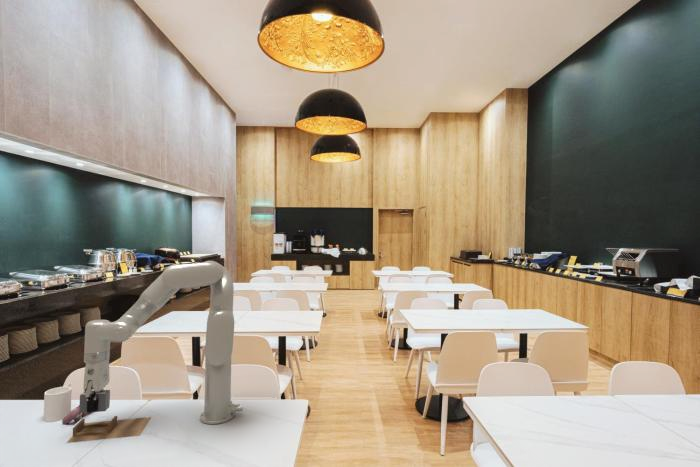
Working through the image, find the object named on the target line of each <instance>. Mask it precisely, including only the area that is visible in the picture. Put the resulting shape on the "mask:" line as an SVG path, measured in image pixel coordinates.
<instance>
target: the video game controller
mask: <svg viewBox="0 0 700 467" xmlns="http://www.w3.org/2000/svg"><path fill="white" fill-rule="evenodd" d="M79 406H80V404H78V405H77V407H75V408H73V409H71V412H70V413H69V414H68V415H67V416H65V417H64V418H63V420H61V421H62V422H61V423H62V424H63V425H68V424H69V423H70V422H71V423H72V421H74V422H79V420H80V419H82V418H83V417H85V416H87V415H88V414H89V413H90V412H87V413H79Z"/></svg>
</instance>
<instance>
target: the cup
mask: <svg viewBox="0 0 700 467" xmlns="http://www.w3.org/2000/svg"><path fill="white" fill-rule="evenodd" d="M72 391H73V390H72V384H71V383H70V384H69V383H68V384H66V385H65V386H59V387H53V388H50V389H48V390H46V391H45V392H44V396H43V398H44V399H43V422H46V423H55V422H59V421H62V420H63V418H64V417H65V416H67V415H68V414H69V413H70V412H71V411H72Z"/></svg>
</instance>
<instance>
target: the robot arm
mask: <svg viewBox="0 0 700 467" xmlns="http://www.w3.org/2000/svg"><path fill="white" fill-rule="evenodd" d="M206 286H210V296H209V298H210V299H209V300H210V302H209V312H208V316H207V318H206V320H207V321H206V332H205V343H204V344H205V346H204V358H205V363H204V410H203V412H201V414H200V415H199V420H200V422H201V423H203V424H205V425H217V424H222V423H226V422H228V421H230V420H232V419H233V418H234V417H235V414H236V412H243V410H244V409H243V408H244V406H243V405H241V404H240V403H238V404H234V403H233V401H232V400H231V398H232V397H231V396H232V391H231V390H232V354H233V347H234V337H235V336H234V335H235V316H234V310H233V309H234V292H235V291H234V288H235V287H234V281H233V278H232V275H231V274H230V272H229V270H228V269H227V268H226V267H225V266H224V265H222V264H220V263H219V262H217V261H215V260H206V261H203V262H197V263H189V264H188V263H187V264H181V263H173V264H170V265H168V266H167V267H166V268H164V270H163V271H162V273H161V274H160V275H159V276H158V277H157V278H156V279H155V280H154V281H153V282H151V283H150V285H149V286H148V287H147V288H145V289H144V291H142V293H141V294H140V295H139V298H138V300H137V301H136V302H134V304H133V305H132V306H131V307H130V308H129V309H128V310H127V311H125V313H124V314H122V316H121V317H120V318H119V319H117V320H115V321H110V320H107V319H93V320H90V321H88V322H87V323H86V324H85V326H84V327H85V328H84V332H85V333H84V347H83V348H84V349H83V350H84V352H83V353H84V354H83V363H85V367H84V374H83V392H85V393H86V394H85V397H86V398H87V412H89V413H98V412H97V411H98V399H97V394H98V392H99V391H101V390H105V389H104V388H105V387H107V386H108V385H109V382H110V355H111V343H123V342H124V343H125V342H127V341H128V340H130V339H131V337H132V336H133V335H134V334H135V333H136V332H137V331H138V330H139V329H140V328H141V327H142V326H143V325H144V323H146V321H147V320H149V318H150V317H152V315H154V314H155V313H156V312H157V311H159V310H161V309H162V307H164V306H165V305H166V304H167V302H169V301H170V299H171V298H172V297H173V296H174V295H175V294H176V293H177V292H178V291H179V290H180V289H189V288H197V287H198V288H199V287H206ZM92 393H95V395H94V394H92Z"/></svg>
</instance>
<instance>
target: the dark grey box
mask: <svg viewBox="0 0 700 467" xmlns="http://www.w3.org/2000/svg"><path fill="white" fill-rule="evenodd" d="M85 394H86V393H85V392H84V391H83V392H82V393H81V394H80V395H79V405H80V406H79V405H78V406H79V413H81V414H82V413H87V398H86V397H85ZM92 394H94V395H95V393H92ZM97 399H98V411H97V412H96V413H100V412H101V413H102V412H106V411H107V410H108V409H109V408H110V400H111V390H110V389H104V390H101V391H99V392H98V394H97Z"/></svg>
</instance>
